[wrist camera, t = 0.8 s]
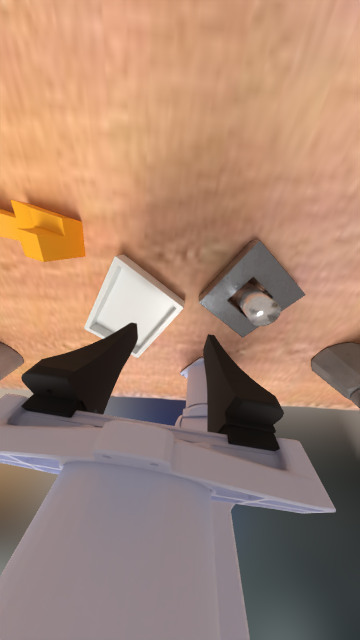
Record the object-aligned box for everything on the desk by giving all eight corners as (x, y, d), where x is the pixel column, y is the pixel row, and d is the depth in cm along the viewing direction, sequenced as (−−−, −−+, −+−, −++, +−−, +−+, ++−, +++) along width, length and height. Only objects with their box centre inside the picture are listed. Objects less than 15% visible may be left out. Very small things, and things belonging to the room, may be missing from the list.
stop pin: (258, 291, 20) (286, 313, 14) (241, 305, 21) (260, 330, 15) (245, 278, 19) (269, 295, 13) (228, 293, 20) (243, 315, 15)
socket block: (293, 288, 19) (305, 294, 17) (238, 328, 24) (242, 337, 22) (251, 240, 16) (259, 240, 14) (198, 296, 21) (199, 302, 19)
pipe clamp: (82, 222, 17) (30, 212, 12) (85, 256, 19) (43, 261, 14) (-13, 188, 16) (-118, 161, 11) (2, 228, 18) (-78, 223, 13)
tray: (184, 301, 22) (183, 307, 20) (141, 349, 29) (137, 358, 27) (123, 254, 19) (114, 255, 17) (92, 321, 26) (83, 328, 24)
